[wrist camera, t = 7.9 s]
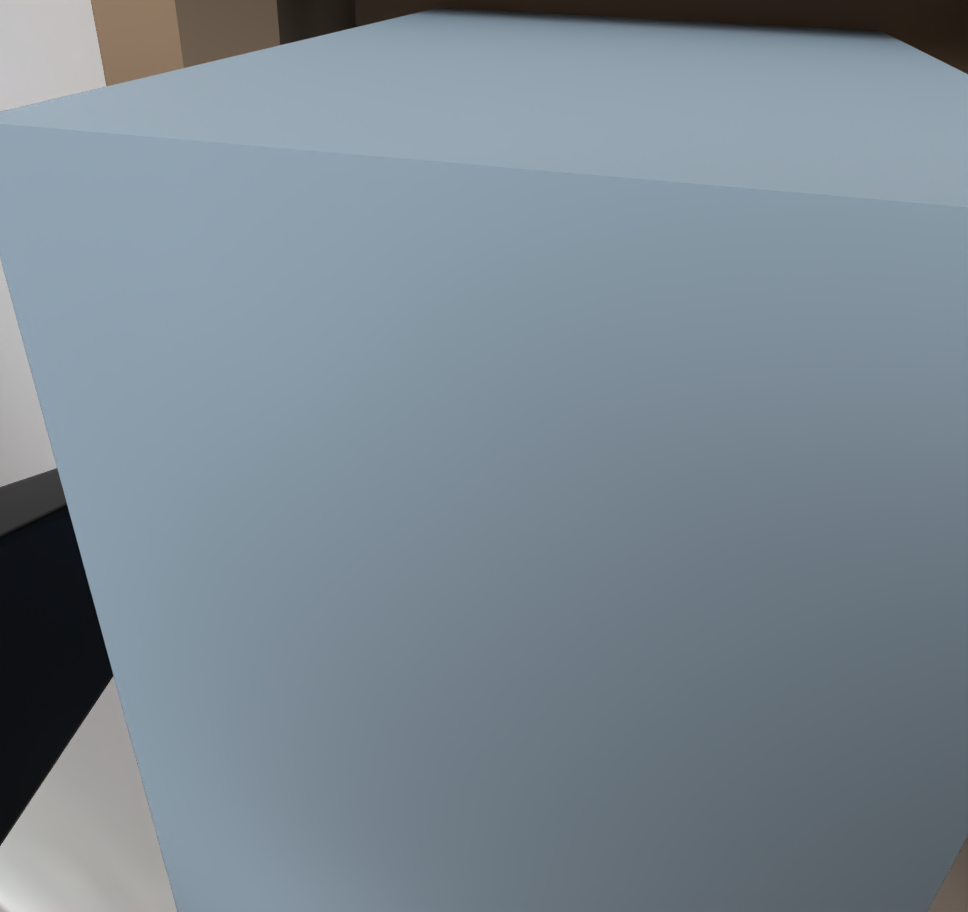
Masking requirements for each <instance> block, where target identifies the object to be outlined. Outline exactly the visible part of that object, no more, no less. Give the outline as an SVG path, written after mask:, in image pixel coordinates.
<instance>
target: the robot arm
mask: <svg viewBox="0 0 968 912" xmlns="http://www.w3.org/2000/svg"><path fill="white" fill-rule="evenodd" d="M113 676H114V675H113V672H112V668H111V664H110V660H109V657H108V653H107V649H106V646H105V642H104V638H103V635H102V631H101V627H100V624H99V620H98V616H97V613H96V609H95V605H94V602H93V598H92V594H91V590H90V587H89V583H88V579H87V576H86V572H85V568H84V565H83V561H82V557H81V554H80V550H79V546H78V543H77V539H76V535H75V531H74V528H73V524H72V520H71V517H70V513H69V509H68V506H67V502H66V498H65V495H64V491H63V487H62V484H61V480H60V476H59V472H58V469H57V468H56V469H53V470H50V471H47V472H44V473H41V474H38V475H35V476H32V477H29V478H26V479H23V480H20V481H17V482H14V483H12V484H9V485H6V486H3V487H0V846H1V844H2V843H3V841H4V840H5V838H6V837H7V835H8V834H9V832H10V831H11V829H12V828H13V826H14V825H15V823H16V822H17V820H18V819H19V817H20V816H21V814H22V813H23V811H24V810H25V808H26V807H27V805H28V804H29V802H30V801H31V799H32V798H33V796H34V795H35V793H36V792H37V790H38V789H39V787H40V786H41V784H42V783H43V781H44V780H45V778H46V777H47V775H48V774H49V772H50V771H51V769H52V768H53V766H54V764H55V763H56V761H57V760H58V758H59V757H60V755H61V754H62V752H63V751H64V749H65V748H66V746H67V745H68V743H69V742H70V740H71V739H72V737H73V736H74V734H75V733H76V731H77V730H78V728H79V727H80V725H81V724H82V722H83V721H84V719H85V718H86V716H87V715H88V713H89V712H90V710H91V709H92V707H93V706H94V704H95V703H96V701H97V700H98V698H99V697H100V695H101V694H102V692H103V691H104V689H105V688H106V686H107V685H108V683H109V682H110V680H111V679H112V677H113Z"/></svg>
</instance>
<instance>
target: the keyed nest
mask: <svg viewBox="0 0 968 912" xmlns="http://www.w3.org/2000/svg"><path fill="white" fill-rule="evenodd" d="M91 4H92V9H93V15H94V20H95V26H96V31H97V37H98V42H99V48H100V53H101V58H102V64H103V69H104V75H105V80H106V86H111V85H115V84H119V83H124V82H128V81H132V80H136V79H140V78H145V77H149V76H153V75H157V74H161V73H166V72H170V71H174V70H178V69H182V68H187V67H191V66H195V65H199V64H204V63H208V62H212V61H216V60H220V59H225V58H229V57H233V56H237V55H241V54H246V53H250V52H254V51H258V50H263V49H267V48H271V47H275V46H279V45H284V44H288V43H292V42H296V41H300V40H305V39H309V38H313V37H317V36H322V35H326V34H330V33H334V32H338V31H343V30H347V29H351V28H355V27H359V26H364V25H368V24H372V23H376V22H381V21H385V20H389V19H393V18H397V17H402V16H406V15H410V14H414V13H418V12H423V11H427V10H431V9H435V8H440V7H442V8H460V9H479V10H497V11H515V12H534V13H552V14H571V15H589V16H608V17H626V18H645V19H663V20H682V21H700V22H718V23H737V24H755V25H774V26H792V27H811V28H829V29H848V30H866V31H882V32H884V33H886V34H888V35H890V36H892V37H894V38H896V39H898V40H900V41H902V42H904V43H906V44H908V45H910V46H912V47H914V48H916V49H918V50H920V51H922V52H924V53H926V54H928V55H930V56H932V57H934V58H936V59H938V60H940V61H942V62H944V63H946V64H948V65H950V66H952V67H954V68H956V69H958V70H960V71H962V72H964V73H966V74H968V0H91Z"/></svg>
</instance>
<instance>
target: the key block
mask: <svg viewBox="0 0 968 912" xmlns="http://www.w3.org/2000/svg"><path fill="white" fill-rule="evenodd" d="M0 259H1V262H2V266H3V270H4V273H5V277H6V281H7V285H8V288H9V292H10V296H11V299H12V303H13V307H14V310H15V314H16V318H17V321H18V325H19V329H20V332H21V336H22V340H23V343H24V347H25V351H26V355H27V358H28V362H29V366H30V369H31V373H32V377H33V380H34V384H35V388H36V391H37V395H38V399H39V402H40V406H41V410H42V414H43V417H44V421H45V425H46V428H47V432H48V436H49V439H50V443H51V447H52V450H53V454H54V458H55V461H56V465H57V469H58V472H59V476H60V480H61V484H62V487H63V491H64V495H65V498H66V502H67V506H68V509H69V513H70V517H71V520H72V524H73V528H74V531H75V535H76V539H77V543H78V546H79V550H80V554H81V557H82V561H83V565H84V568H85V572H86V576H87V579H88V583H89V587H90V590H91V594H92V598H93V602H94V605H95V609H96V613H97V616H98V620H99V624H100V627H101V631H102V635H103V638H104V642H105V646H106V649H107V653H108V657H109V660H110V664H111V668H112V672H113V675H114V679H115V683H116V686H117V690H118V694H119V697H120V701H121V705H122V708H123V712H124V716H125V719H126V723H127V727H128V731H129V734H130V738H131V742H132V745H133V749H134V753H135V756H136V760H137V764H138V767H139V771H140V775H141V778H142V782H143V786H144V790H145V793H146V797H147V801H148V804H149V808H150V812H151V815H152V819H153V823H154V826H155V830H156V834H157V837H158V841H159V845H160V848H161V852H162V856H163V860H164V863H165V867H166V871H167V874H168V878H169V882H170V885H171V889H172V893H173V896H174V900H175V904H176V907H177V911H178V912H927V911H928V910H929V908H930V906H931V904H932V902H933V900H934V898H935V896H936V895H937V893H938V891H939V889H940V887H941V885H942V883H943V881H944V880H945V878H946V876H947V874H948V872H949V870H950V868H951V866H952V865H953V863H954V861H955V859H956V857H957V855H958V853H959V852H960V850H961V848H962V846H963V844H964V842H965V840H966V838H967V837H968V74H966V73H964V72H962V71H960V70H958V69H956V68H954V67H952V66H950V65H948V64H946V63H944V62H942V61H940V60H938V59H936V58H934V57H932V56H930V55H928V54H926V53H924V52H922V51H920V50H918V49H916V48H914V47H912V46H910V45H908V44H906V43H904V42H902V41H900V40H898V39H896V38H894V37H892V36H890V35H888V34H886V33H884V32H882V31H866V30H848V29H829V28H811V27H792V26H774V25H755V24H737V23H718V22H700V21H682V20H663V19H645V18H626V17H608V16H589V15H571V14H552V13H534V12H515V11H497V10H479V9H460V8H442V7H440V8H435V9H431V10H427V11H423V12H418V13H414V14H410V15H406V16H402V17H397V18H393V19H389V20H385V21H381V22H376V23H372V24H368V25H364V26H359V27H355V28H351V29H347V30H343V31H338V32H334V33H330V34H326V35H322V36H317V37H313V38H309V39H305V40H300V41H296V42H292V43H288V44H284V45H279V46H275V47H271V48H267V49H263V50H258V51H254V52H250V53H246V54H241V55H237V56H233V57H229V58H225V59H220V60H216V61H212V62H208V63H204V64H199V65H195V66H191V67H187V68H182V69H178V70H174V71H170V72H166V73H161V74H157V75H153V76H149V77H145V78H140V79H136V80H132V81H128V82H124V83H119V84H115V85H111V86H107V87H102V88H98V89H94V90H90V91H86V92H81V93H77V94H73V95H69V96H65V97H60V98H56V99H52V100H48V101H43V102H39V103H35V104H31V105H27V106H22V107H18V108H14V109H10V110H6V111H1V112H0Z"/></svg>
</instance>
